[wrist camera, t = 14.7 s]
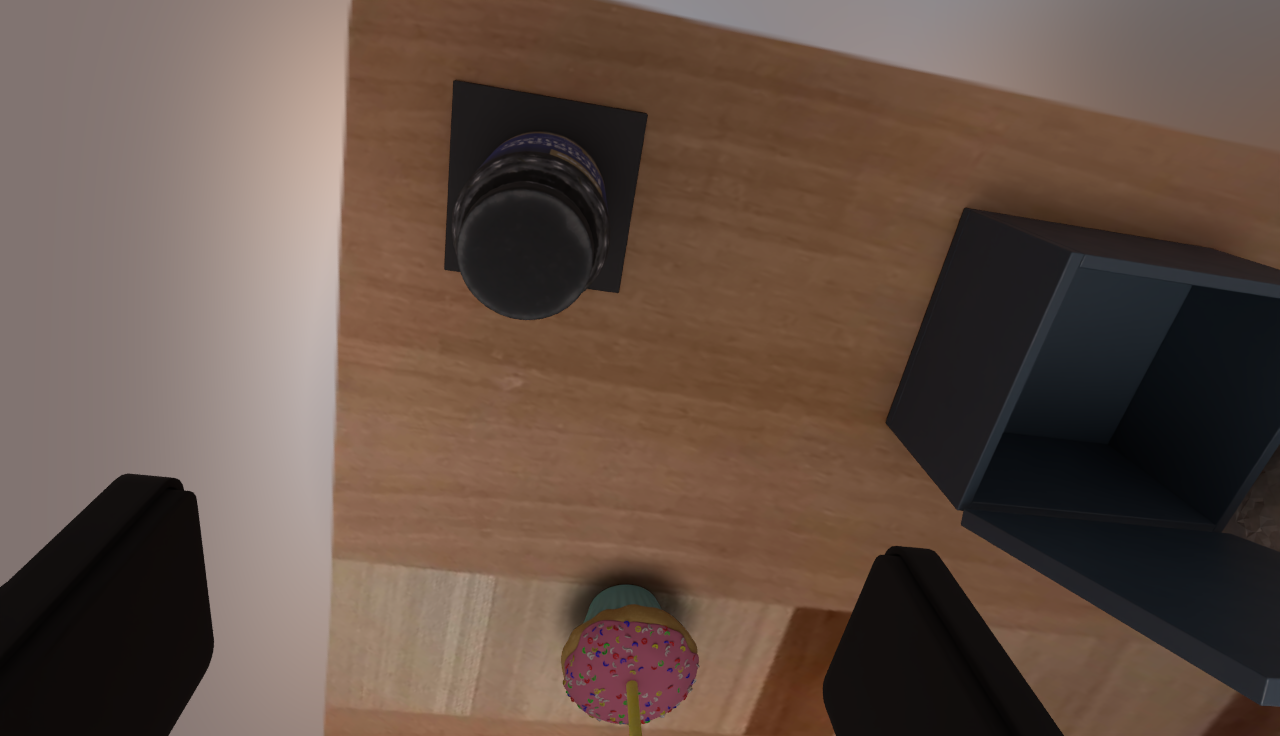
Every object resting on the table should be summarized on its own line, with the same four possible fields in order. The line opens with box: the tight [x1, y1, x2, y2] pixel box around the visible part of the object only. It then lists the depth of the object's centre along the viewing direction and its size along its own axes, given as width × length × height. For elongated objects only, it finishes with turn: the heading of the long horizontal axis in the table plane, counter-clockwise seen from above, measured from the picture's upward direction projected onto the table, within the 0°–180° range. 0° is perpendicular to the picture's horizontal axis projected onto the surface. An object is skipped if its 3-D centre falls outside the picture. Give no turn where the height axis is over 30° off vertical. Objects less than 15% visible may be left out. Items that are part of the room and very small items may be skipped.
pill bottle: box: [452, 131, 611, 320], centre depth 28 cm, size 6×6×11 cm
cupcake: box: [561, 585, 699, 736], centre depth 40 cm, size 9×8×12 cm
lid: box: [961, 509, 1280, 706], centre depth 27 cm, size 14×15×5 cm
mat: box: [444, 80, 648, 293], centre depth 33 cm, size 9×9×1 cm
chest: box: [886, 208, 1280, 533], centre depth 35 cm, size 13×15×9 cm
